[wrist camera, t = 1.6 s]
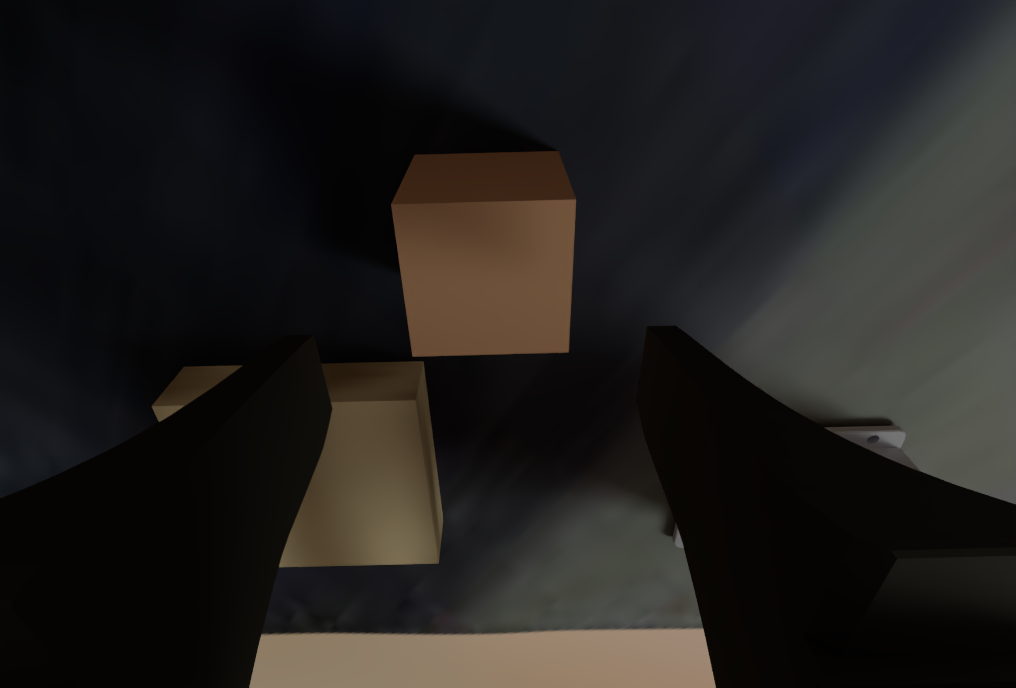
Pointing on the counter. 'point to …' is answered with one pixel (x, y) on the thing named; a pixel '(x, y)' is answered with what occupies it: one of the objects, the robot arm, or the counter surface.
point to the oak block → (358, 467)
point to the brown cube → (486, 253)
